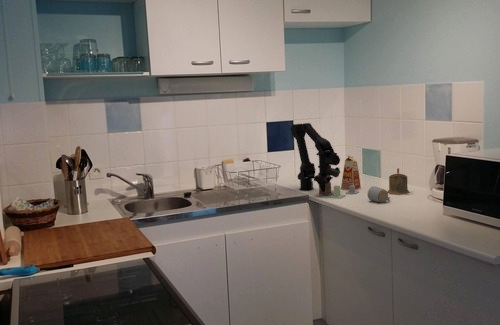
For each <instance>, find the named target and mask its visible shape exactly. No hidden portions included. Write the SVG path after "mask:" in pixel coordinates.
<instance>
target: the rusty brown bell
mask: <svg viewBox="0 0 500 325" xmlns="http://www.w3.org/2000/svg"><path fill="white" fill-rule="evenodd" d="M388 178H389V179H388V184H389V185H388V190H387V192H388V195H394V196H395V195H396V196H400V195H401V196H402V195H409V194H410V191H409V189H408V176H407V174H403V173H400V168H398V167H397V168H396V173H393V174H391V175H388Z"/></svg>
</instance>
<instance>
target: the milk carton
mask: <svg viewBox="0 0 500 325" xmlns="http://www.w3.org/2000/svg"><path fill="white" fill-rule="evenodd" d="M360 176H361V175H360V170H359V164H358V161H357V160H356V159H354V156H351V155H347V158H345V160H344V166H343V172H342V179H341V186H340V191H347V192H348V191H349V186H351V185H352V186H355V191H359V190H360V189H361V188H362V187H361V186H362V185H361V184H362V183H361V178H360Z"/></svg>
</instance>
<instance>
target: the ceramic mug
mask: <svg viewBox="0 0 500 325" xmlns="http://www.w3.org/2000/svg"><path fill="white" fill-rule="evenodd" d="M367 198H368V200H369V201H372V202H374V203H375V202H376V203H380V204H381V203H382V204H383V203H386V201H389V200H390V199H391V197H389V193H388V190H387V189H385V188H381V187H378V186H375V185H373V186H371V187H369V189H368V190H367Z"/></svg>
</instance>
